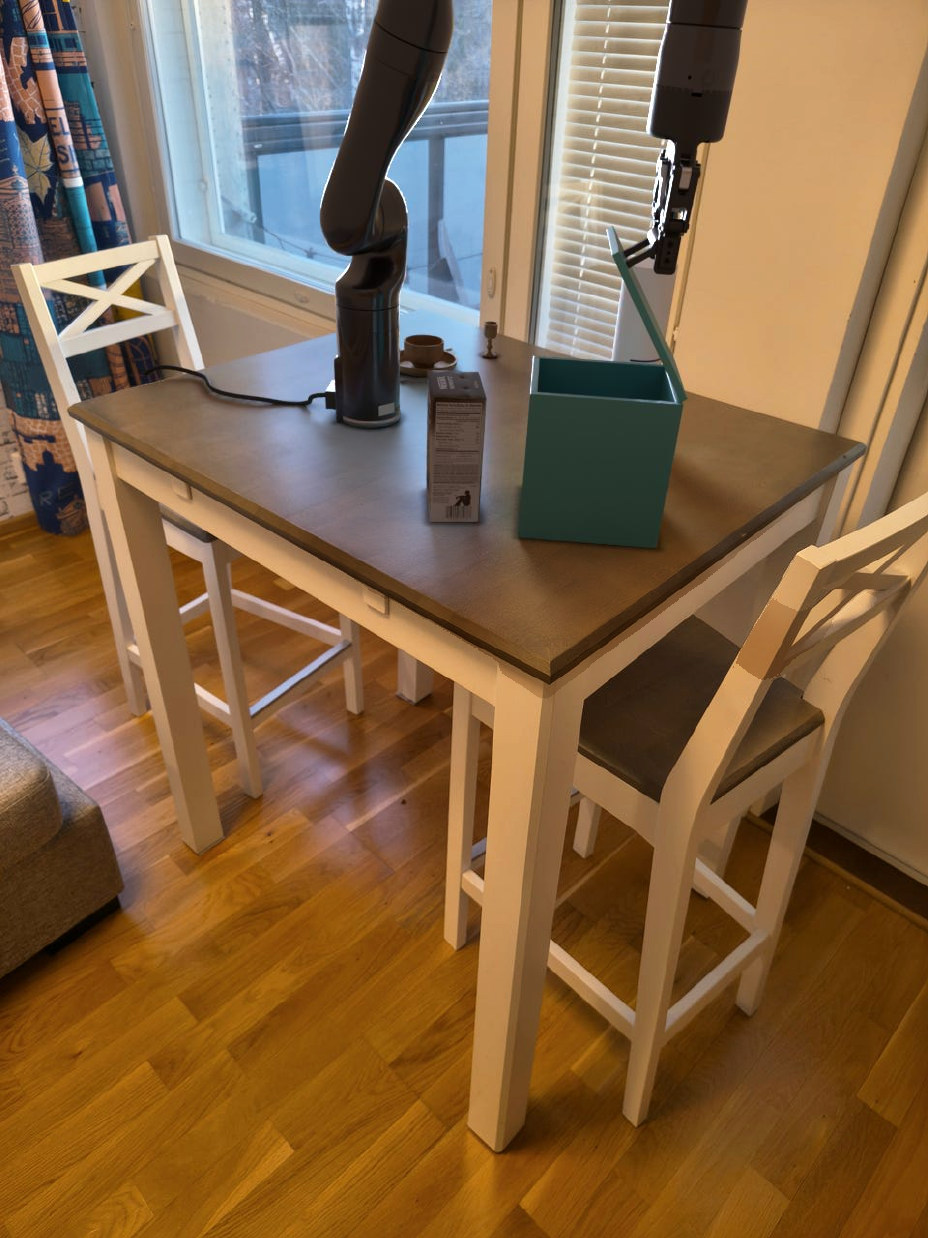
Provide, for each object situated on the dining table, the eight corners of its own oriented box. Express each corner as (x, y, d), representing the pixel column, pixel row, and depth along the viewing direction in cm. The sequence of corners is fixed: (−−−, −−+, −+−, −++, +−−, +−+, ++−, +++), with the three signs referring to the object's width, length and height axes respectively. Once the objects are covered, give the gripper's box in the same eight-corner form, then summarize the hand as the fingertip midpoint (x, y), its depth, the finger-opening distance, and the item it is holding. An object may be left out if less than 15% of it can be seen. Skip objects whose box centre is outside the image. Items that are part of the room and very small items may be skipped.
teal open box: (517, 537, 106) (530, 393, 96) (521, 488, 118) (533, 355, 108) (656, 548, 106) (683, 404, 96) (647, 498, 117) (670, 364, 107)
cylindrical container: (647, 448, 131) (678, 270, 117) (599, 442, 132) (623, 265, 118) (649, 430, 136) (678, 259, 122) (602, 425, 137) (626, 254, 123)
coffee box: (424, 490, 116) (426, 368, 107) (473, 490, 117) (479, 369, 108) (428, 523, 108) (430, 395, 99) (480, 523, 109) (487, 396, 100)
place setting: (387, 351, 163) (387, 318, 160) (495, 352, 165) (497, 320, 162) (391, 384, 149) (391, 348, 145) (509, 384, 151) (511, 349, 148)
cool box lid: (611, 255, 88) (662, 226, 86) (606, 229, 99) (651, 203, 97) (680, 402, 96) (729, 378, 94) (668, 362, 107) (711, 340, 105)
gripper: (648, 75, 91) (621, 248, 100) (660, 84, 79) (629, 279, 89) (722, 81, 91) (688, 254, 100) (745, 90, 79) (704, 286, 88)
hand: (660, 265), depth 94 cm, fingers closed on cool box lid, 6 cm apart
